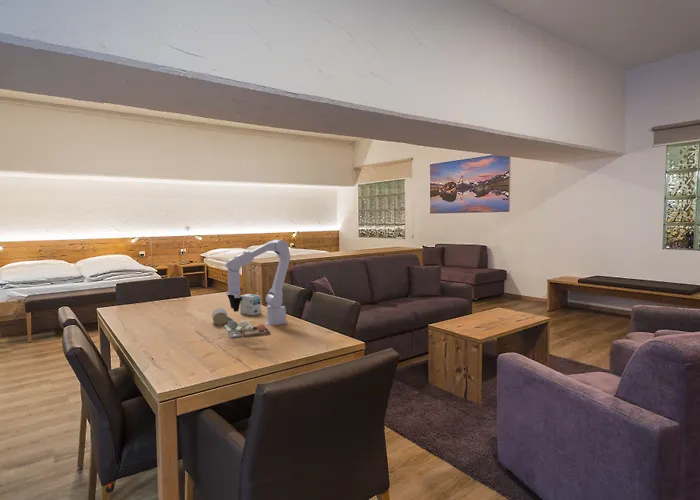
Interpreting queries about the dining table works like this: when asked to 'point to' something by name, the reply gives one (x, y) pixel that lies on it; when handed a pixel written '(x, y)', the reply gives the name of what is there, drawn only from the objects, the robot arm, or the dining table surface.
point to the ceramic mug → (220, 317)
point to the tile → (235, 335)
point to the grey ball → (233, 325)
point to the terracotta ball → (261, 327)
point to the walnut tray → (254, 332)
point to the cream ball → (243, 324)
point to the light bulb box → (250, 304)
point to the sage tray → (238, 328)
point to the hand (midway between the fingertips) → (234, 309)
